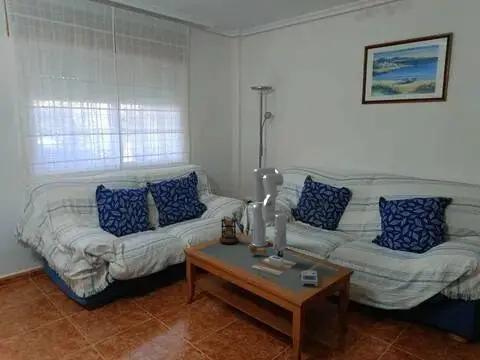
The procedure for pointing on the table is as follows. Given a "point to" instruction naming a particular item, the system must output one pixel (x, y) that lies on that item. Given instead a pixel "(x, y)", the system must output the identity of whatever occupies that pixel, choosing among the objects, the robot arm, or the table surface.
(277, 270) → the plywood board
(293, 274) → the table surface
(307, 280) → the handheld gaming device
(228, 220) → the brown upright piece
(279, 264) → the block
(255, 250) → the lion figurine
